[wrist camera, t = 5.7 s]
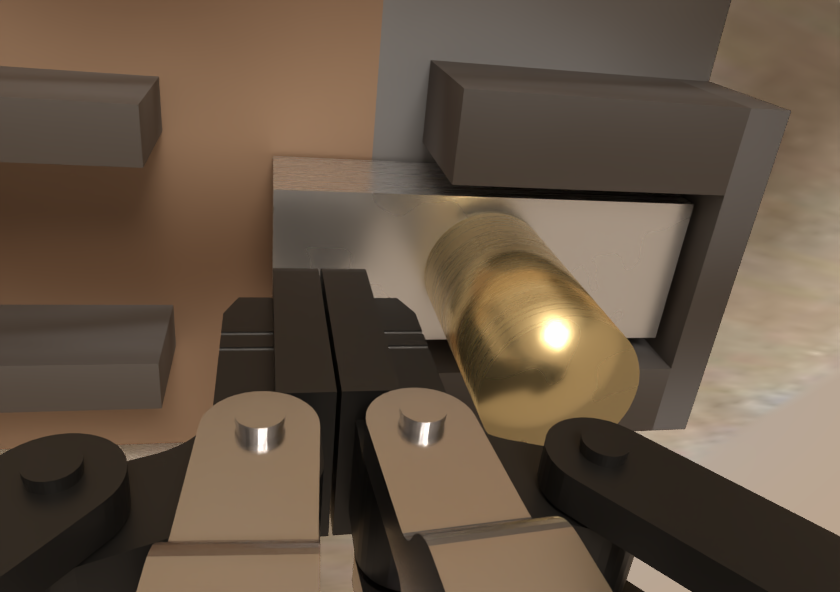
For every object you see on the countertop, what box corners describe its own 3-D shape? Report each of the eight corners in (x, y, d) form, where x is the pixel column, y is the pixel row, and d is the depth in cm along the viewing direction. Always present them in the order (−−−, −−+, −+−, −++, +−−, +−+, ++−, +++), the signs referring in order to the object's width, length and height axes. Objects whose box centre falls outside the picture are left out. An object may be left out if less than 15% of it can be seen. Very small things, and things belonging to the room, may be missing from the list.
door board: (-610, -175, 11) (-1070, -226, 7) (697, -27, 15) (831, -12, 12) (-334, 417, 16) (-519, 569, 12) (591, 393, 20) (661, 498, 17)
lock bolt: (272, 156, 14) (274, 297, 9) (646, 172, 15) (837, 299, 10) (271, 293, 15) (273, 487, 10) (615, 294, 17) (771, 461, 12)
